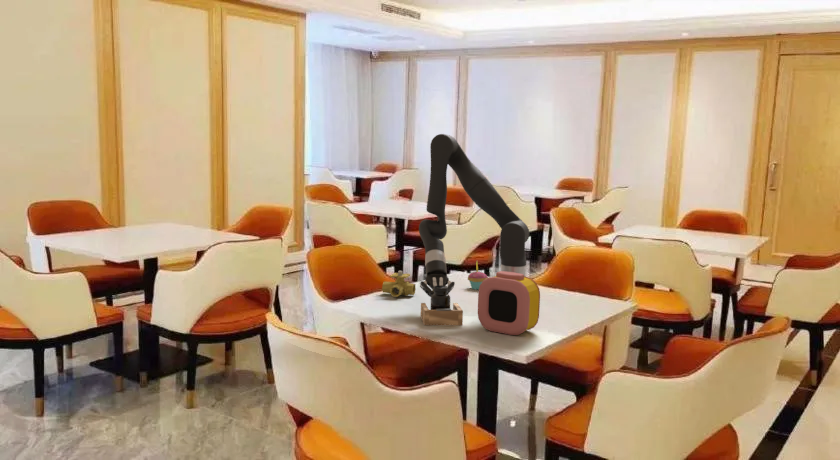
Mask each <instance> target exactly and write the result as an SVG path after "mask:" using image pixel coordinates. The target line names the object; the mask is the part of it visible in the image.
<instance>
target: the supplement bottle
mask: <svg viewBox="0 0 840 460" xmlns="http://www.w3.org/2000/svg"><path fill="white" fill-rule="evenodd" d="M447 292H448V285H446V286H442V285H438V286H434V294H432V295H431V297H430V310H436V309H451V295H450V293H449V294H447Z"/></svg>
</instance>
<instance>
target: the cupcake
mask: <svg viewBox="0 0 840 460" xmlns="http://www.w3.org/2000/svg"><path fill="white" fill-rule="evenodd" d="M478 264H479V262H478V261H476V263H475V265H476V267H475V268H476V269H475V270H476V271H473V272H470V273H469V274H467V275H468V276H467V280H468V281H469V284H470V286H471V289H472V290H479V287H480V285H481V283H482V282H483V280H485V279H487V278H488V277H489V276H488V275H487V274H486V273H485V272H481V271H479V266H478Z"/></svg>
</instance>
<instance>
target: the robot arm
mask: <svg viewBox="0 0 840 460" xmlns="http://www.w3.org/2000/svg"><path fill="white" fill-rule="evenodd" d="M448 166H449V167H450V168H451V169H452V170H453V171H454V173H455V175H456V176H457V178H458V181H459V183H460V184H461V186H462V188H463V191H465V193H466V194H467V195H468V197H469V198H470V199H471V200H472V202H473V203H474V204H475V205H476V206H477V207H479V209H481V210H482V211H483V212H485V214H487V215H488V216H490V217H491V219H493V220H494V221H495V222H496V223H497V225H498V226H499V227H500V228H501V230H500V235H499V236H500V237H499V256H500V271H505V272H514V273H520V274H524V276H526V277H527V273H526V272H527V257H526V253H525V252H526V251H525V249H526V242H527V241H528V239H529V237H530V229H529V227H528V225H527V224H526V223H525V222H524V221H523V220H522V219H521V218H520V216H518V215H517V214H516V213H515V212H514V210H512V209H511V208H510V207H509V205H508V204H507V203H506V201H505V200H504V199H503V197H502V196H501V195H500V193H499V192H498V191H497V189H496V188H495V187H494V185H493V184H492V183H491V181H489V179H488V178H487V177H486V176H485V175H484V174H483V173H482V171H480V169H479V168H478V167H477V166H476V165H475V164H474V162H472V161H471V159H470V158H469V157H468V156H467V154H466V153H465V151H464V150H463V148H462V146H461V145H460V144H459V142H458V140H457V139H456V138H455V137H453V136H452V135H450V134H445V133H440V134H436V135H435V136H434V137H433V138H432V139H431V142H430V177H429V188H428V194H427V202H426V212H427V213H428V214H432V215H435V216H436V217H437V220H436V219H435V220H432V219H423V220H421V221H420V223H419V225H418V233H419V236H420V238H421V241H422V242H423V243H422V244H423V247H424V253H425V254H424V255H425V260H424V262H425V263H424V266H425V279H424V280H423V281H420V284H419V287H420V288H421V289H422V291H424V292H425V294H426V295H427V296H428V297H430V298H431V295H432V294H434V286H438V285H442V286H447V287H448V292H447V294H449V295H450V293H451V291H452V290H454V287H455V285H456V284H455V281H451V280H450V279H449V277H448V274H447V273H448V272H447V270H448V269H447V260H446V256H445V248H444V247H445V246H444V243H443V241H442V239H444V238H446V236H447V233H448V229H447V227H448V226H447V221H446V206H447V205H446V204H447V196H448V183H447V182H448V181H447V172H448V171H447V170H448Z"/></svg>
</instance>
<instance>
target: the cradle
mask: <svg viewBox="0 0 840 460" xmlns="http://www.w3.org/2000/svg"><path fill="white" fill-rule="evenodd" d="M463 317H464V310H463V309H462V307H461V306H460V305H459V304H458V303H457V302H453V305H452V308H450V309H436V310H431V309H429V308H428V306H427V304H426V303H425V302H424V303H423V302H420V319H421V322H422V324H423V325H424V326H463V323H464V322H463V319H464V318H463Z"/></svg>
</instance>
